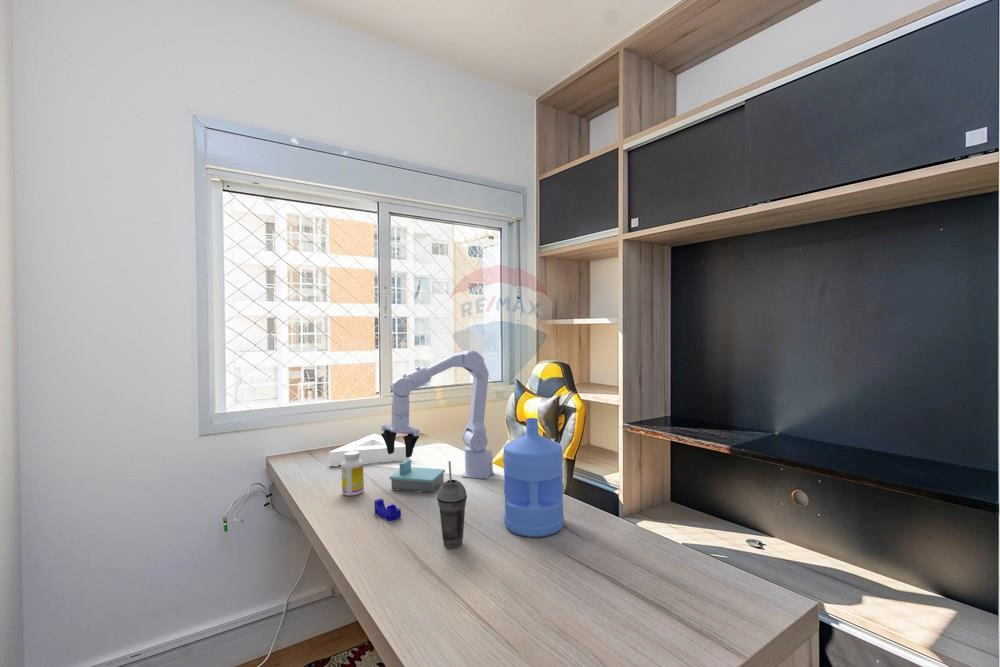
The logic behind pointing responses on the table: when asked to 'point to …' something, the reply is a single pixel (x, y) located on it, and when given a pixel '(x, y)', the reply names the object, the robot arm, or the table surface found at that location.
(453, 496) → the beverage cup
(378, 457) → the triangular ruler
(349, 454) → the supplement bottle
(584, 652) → the table surface
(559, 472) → the water jug
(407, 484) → the tub
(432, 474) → the lid
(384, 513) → the cable holder
